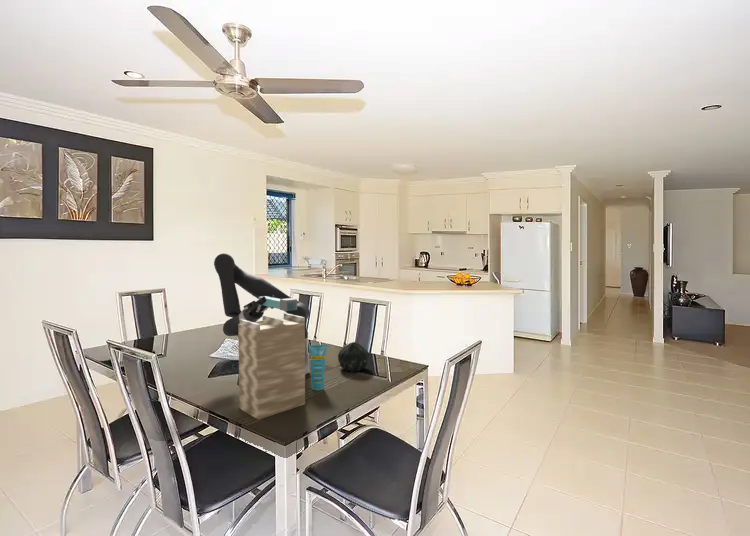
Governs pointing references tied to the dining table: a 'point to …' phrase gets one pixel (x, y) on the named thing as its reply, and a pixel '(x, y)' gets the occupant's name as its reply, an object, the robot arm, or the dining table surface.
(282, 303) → the bar
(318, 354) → the tube
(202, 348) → the dining table surface
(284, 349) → the notched wooden tower
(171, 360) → the dining table surface
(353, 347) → the squash
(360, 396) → the dining table surface
